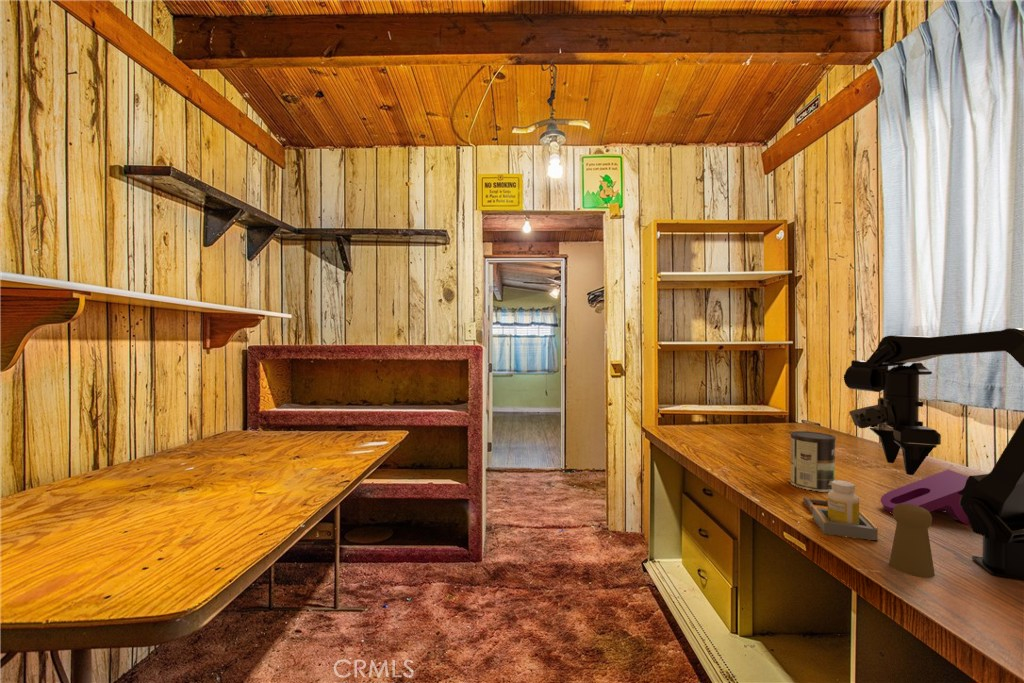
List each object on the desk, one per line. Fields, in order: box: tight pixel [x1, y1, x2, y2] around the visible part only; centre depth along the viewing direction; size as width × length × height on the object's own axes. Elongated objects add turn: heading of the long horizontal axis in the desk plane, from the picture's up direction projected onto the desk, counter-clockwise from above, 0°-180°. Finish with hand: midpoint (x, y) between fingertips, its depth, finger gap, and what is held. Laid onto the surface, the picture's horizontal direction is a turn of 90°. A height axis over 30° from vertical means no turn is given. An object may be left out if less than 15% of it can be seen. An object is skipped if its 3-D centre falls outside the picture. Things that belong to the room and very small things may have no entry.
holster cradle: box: [802, 496, 828, 514], centre depth 106 cm, size 8×8×2 cm
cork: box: [888, 504, 936, 578], centre depth 79 cm, size 6×6×11 cm
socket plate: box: [812, 505, 879, 542], centre depth 95 cm, size 9×9×3 cm
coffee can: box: [790, 430, 836, 493], centre depth 123 cm, size 10×10×14 cm
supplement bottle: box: [827, 479, 860, 525], centre depth 95 cm, size 5×5×10 cm
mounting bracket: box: [880, 468, 970, 525], centre depth 103 cm, size 9×8×18 cm
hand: (899, 468), depth 95 cm, fingers open, 9 cm apart
